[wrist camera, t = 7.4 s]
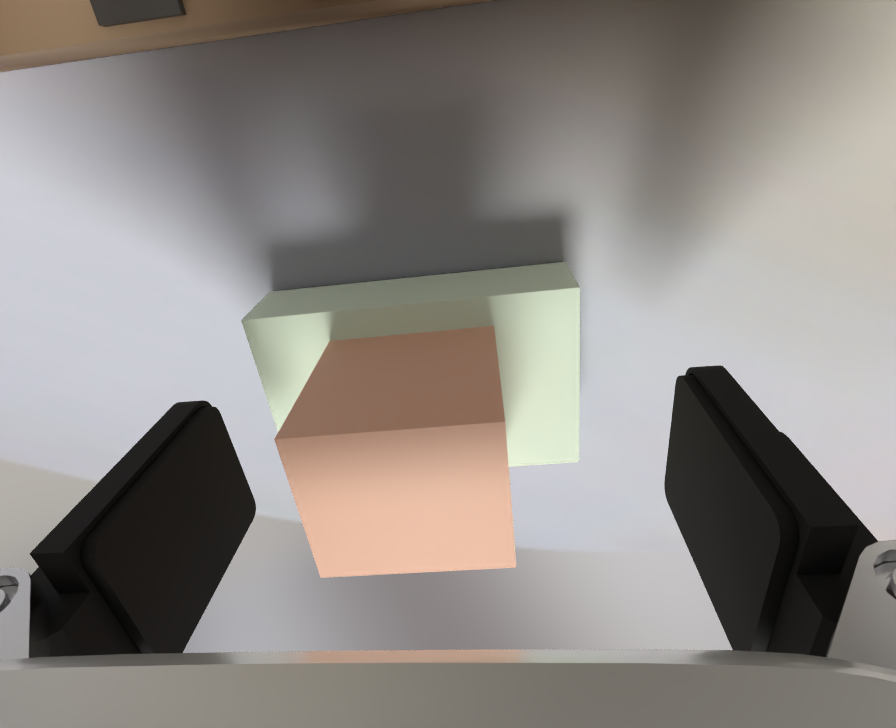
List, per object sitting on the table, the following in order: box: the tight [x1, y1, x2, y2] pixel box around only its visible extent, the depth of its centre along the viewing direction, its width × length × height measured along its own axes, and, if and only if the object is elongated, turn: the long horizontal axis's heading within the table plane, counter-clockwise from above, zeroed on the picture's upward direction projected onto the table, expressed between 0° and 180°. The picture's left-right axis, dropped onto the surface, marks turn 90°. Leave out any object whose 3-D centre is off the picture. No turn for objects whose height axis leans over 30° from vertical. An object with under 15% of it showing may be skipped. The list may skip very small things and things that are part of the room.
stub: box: [241, 262, 580, 578], centre depth 12 cm, size 8×5×6 cm, turn 97°
